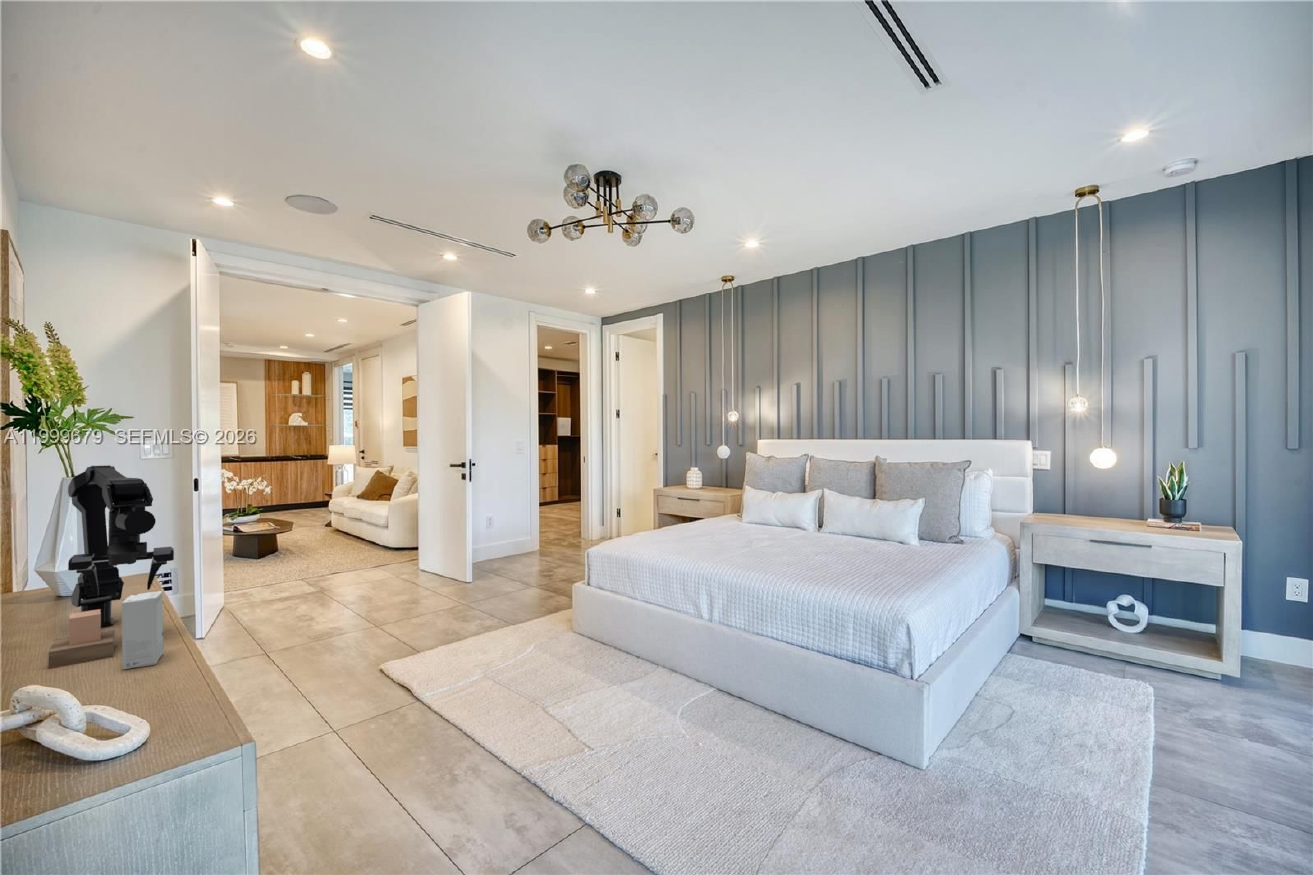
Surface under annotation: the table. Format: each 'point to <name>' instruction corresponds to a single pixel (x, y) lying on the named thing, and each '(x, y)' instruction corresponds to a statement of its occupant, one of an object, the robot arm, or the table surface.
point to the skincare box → (142, 630)
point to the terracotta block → (84, 627)
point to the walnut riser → (81, 650)
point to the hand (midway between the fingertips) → (123, 592)
